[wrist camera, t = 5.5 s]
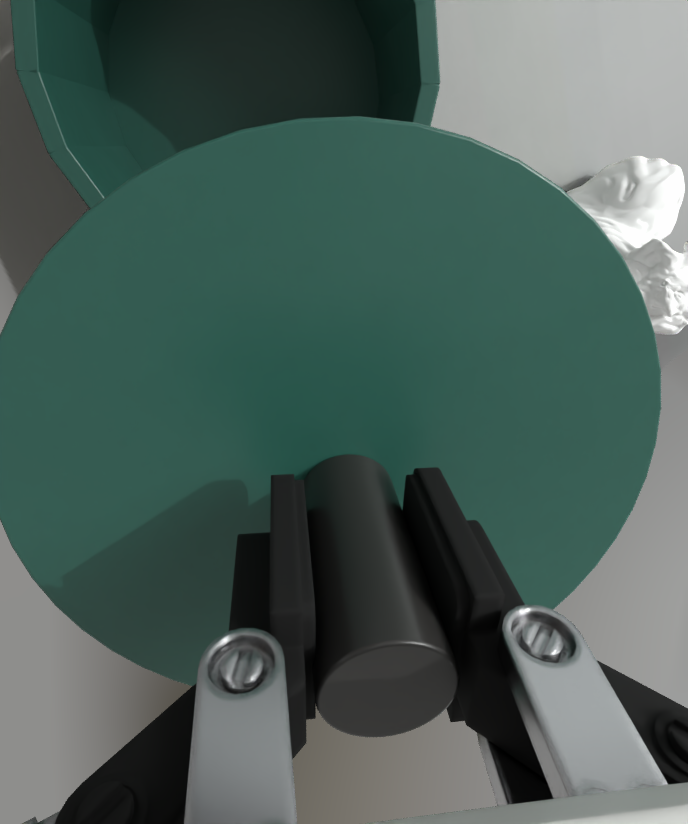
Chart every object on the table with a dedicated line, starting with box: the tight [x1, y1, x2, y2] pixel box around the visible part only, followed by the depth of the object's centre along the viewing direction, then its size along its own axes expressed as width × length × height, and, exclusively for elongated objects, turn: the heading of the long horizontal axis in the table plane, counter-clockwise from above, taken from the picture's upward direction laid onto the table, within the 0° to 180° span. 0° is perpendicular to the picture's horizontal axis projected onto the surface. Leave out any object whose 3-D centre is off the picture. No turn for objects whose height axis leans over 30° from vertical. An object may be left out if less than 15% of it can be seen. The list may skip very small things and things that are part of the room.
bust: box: [566, 156, 688, 335], centre depth 30 cm, size 12×8×11 cm
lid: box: [0, 116, 661, 737], centre depth 11 cm, size 17×17×7 cm
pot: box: [10, 0, 440, 209], centre depth 24 cm, size 16×16×10 cm
